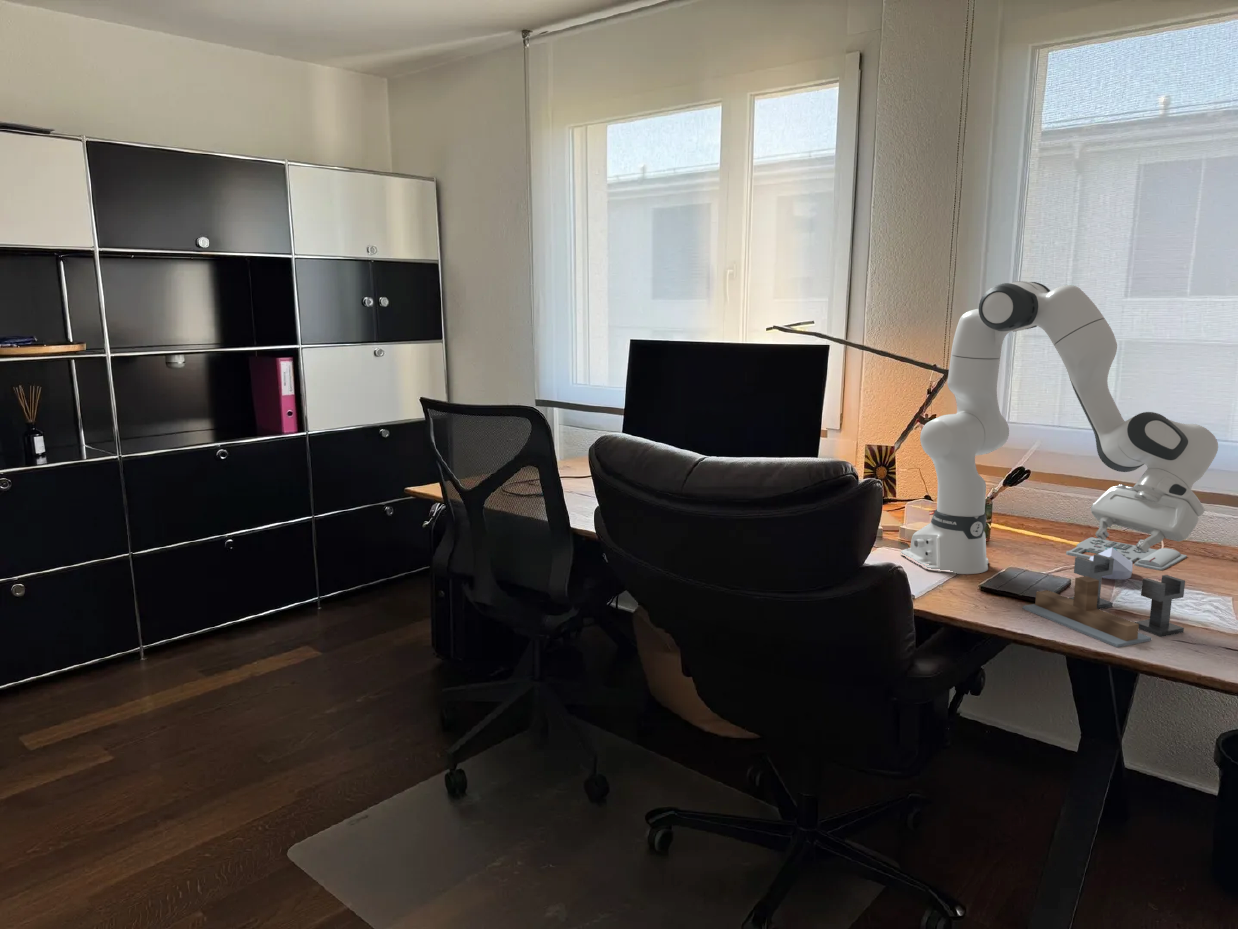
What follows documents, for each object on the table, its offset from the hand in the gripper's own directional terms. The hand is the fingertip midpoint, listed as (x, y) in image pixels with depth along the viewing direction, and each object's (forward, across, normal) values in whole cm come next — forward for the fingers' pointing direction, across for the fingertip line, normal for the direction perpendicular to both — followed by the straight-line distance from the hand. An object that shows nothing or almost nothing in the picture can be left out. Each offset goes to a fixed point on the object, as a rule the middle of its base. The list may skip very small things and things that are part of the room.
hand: (1119, 543), depth 174 cm
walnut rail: (+17, 0, +5) cm, 18 cm away
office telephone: (-18, -32, +42) cm, 56 cm away
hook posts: (+9, 0, +14) cm, 17 cm away
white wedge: (-5, -21, +29) cm, 36 cm away
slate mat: (+17, 0, +6) cm, 18 cm away
